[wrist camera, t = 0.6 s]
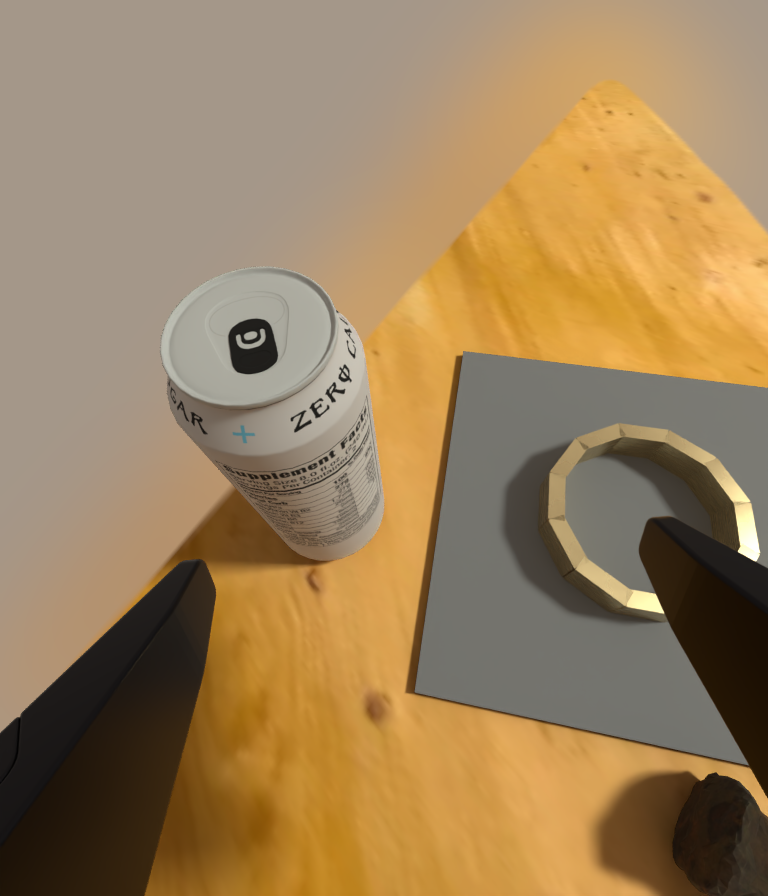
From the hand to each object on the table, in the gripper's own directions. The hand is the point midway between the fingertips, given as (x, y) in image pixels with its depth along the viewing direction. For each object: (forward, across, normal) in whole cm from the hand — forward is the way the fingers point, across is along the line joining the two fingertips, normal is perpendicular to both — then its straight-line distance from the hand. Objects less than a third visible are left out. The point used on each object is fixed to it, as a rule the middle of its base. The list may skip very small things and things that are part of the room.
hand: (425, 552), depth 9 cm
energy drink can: (+13, +4, +10) cm, 17 cm away
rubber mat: (+11, -12, +11) cm, 20 cm away
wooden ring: (+11, -12, +11) cm, 19 cm away
